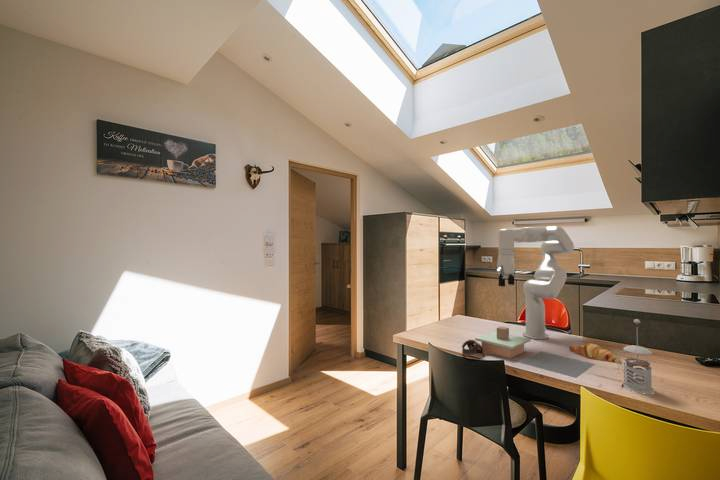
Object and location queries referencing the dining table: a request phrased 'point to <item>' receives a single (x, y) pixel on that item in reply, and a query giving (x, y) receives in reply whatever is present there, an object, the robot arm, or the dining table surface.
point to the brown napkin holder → (472, 348)
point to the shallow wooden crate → (501, 350)
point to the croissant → (594, 352)
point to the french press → (637, 369)
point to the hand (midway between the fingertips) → (506, 285)
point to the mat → (558, 364)
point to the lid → (503, 338)
